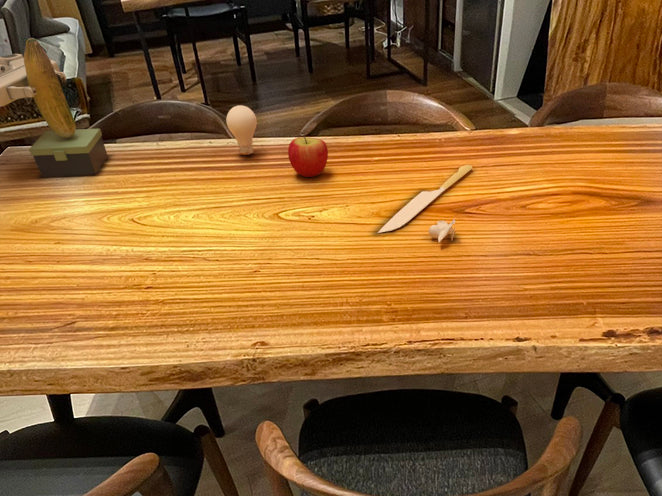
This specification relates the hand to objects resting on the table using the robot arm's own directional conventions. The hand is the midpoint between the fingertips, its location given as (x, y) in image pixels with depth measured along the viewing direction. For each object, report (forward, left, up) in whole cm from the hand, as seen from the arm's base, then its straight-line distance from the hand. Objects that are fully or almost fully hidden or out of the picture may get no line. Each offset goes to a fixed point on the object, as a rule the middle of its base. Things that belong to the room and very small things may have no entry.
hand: (49, 84), depth 130 cm
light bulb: (+38, +2, -18) cm, 42 cm away
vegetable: (-1, +1, -12) cm, 12 cm away
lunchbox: (-1, 0, -18) cm, 18 cm away
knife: (+77, -24, -18) cm, 83 cm away
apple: (+53, -10, -18) cm, 57 cm away
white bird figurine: (+78, -40, -18) cm, 89 cm away
